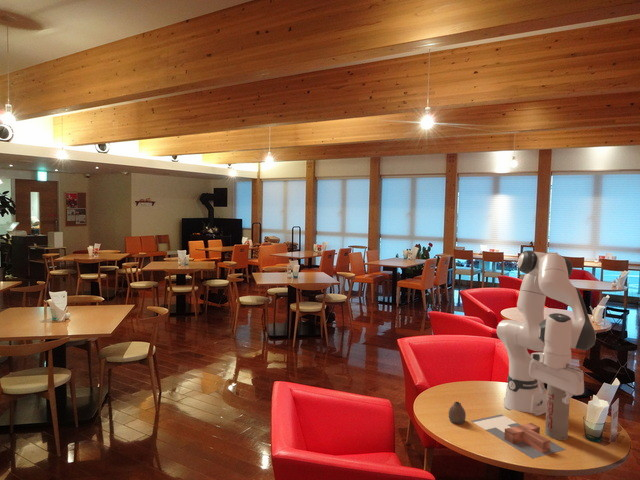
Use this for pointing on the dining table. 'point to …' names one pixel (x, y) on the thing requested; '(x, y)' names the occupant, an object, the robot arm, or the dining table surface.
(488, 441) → the dining table surface
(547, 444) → the t block
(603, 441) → the dining table surface
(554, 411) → the thermos bottle
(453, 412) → the vase
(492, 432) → the board
